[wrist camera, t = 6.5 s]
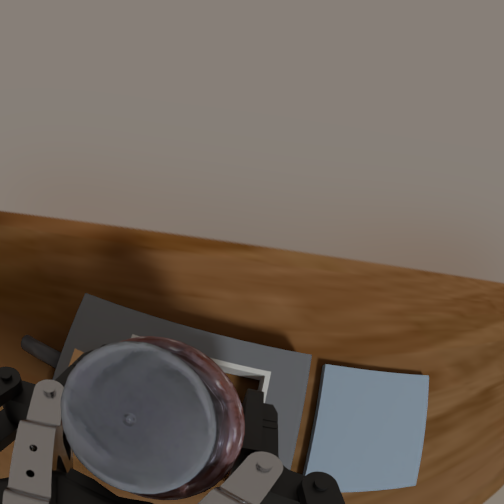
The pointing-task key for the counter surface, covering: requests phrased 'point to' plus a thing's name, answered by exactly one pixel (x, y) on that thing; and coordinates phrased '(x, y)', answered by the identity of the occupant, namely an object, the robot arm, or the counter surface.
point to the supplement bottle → (153, 417)
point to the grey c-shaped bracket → (213, 345)
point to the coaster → (368, 428)
